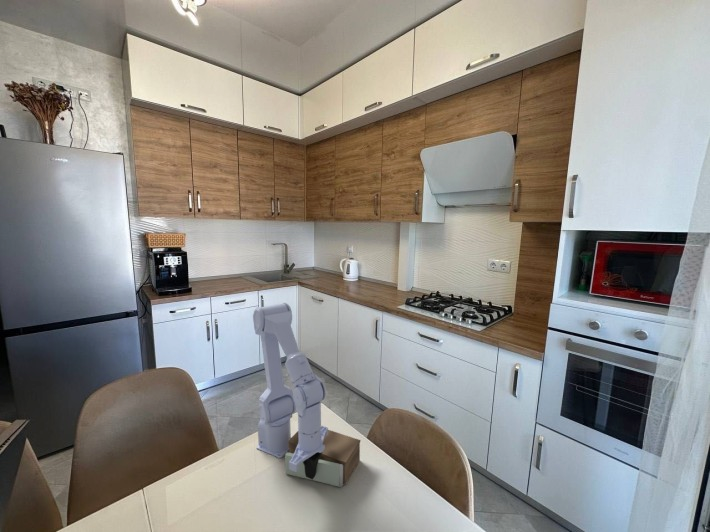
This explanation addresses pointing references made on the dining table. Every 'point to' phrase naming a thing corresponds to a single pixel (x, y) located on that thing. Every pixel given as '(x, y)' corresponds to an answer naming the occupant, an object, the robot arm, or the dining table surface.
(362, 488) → the dining table surface
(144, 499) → the dining table surface
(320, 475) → the door
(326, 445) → the cabinet
